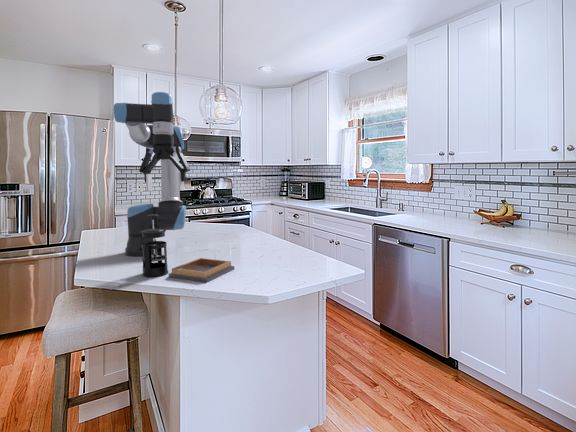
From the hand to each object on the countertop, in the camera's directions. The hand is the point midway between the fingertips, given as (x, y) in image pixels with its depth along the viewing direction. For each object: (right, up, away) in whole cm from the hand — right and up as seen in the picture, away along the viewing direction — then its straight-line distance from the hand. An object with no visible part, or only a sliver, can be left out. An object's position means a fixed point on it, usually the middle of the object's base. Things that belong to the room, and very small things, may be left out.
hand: (165, 190), depth 137 cm
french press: (-4, -32, 0) cm, 33 cm away
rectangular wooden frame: (+14, -32, +2) cm, 35 cm away
